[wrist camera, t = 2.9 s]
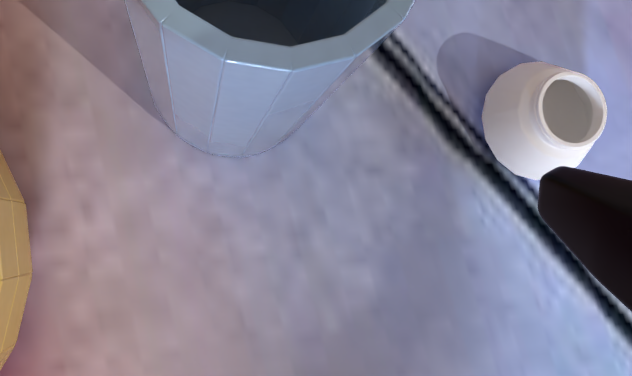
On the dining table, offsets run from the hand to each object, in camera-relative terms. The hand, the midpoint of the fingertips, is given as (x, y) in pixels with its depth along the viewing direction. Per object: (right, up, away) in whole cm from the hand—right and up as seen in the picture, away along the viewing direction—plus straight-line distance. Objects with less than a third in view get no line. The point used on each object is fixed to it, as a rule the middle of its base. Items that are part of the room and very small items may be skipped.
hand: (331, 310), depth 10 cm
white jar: (+9, +5, +16) cm, 19 cm away
